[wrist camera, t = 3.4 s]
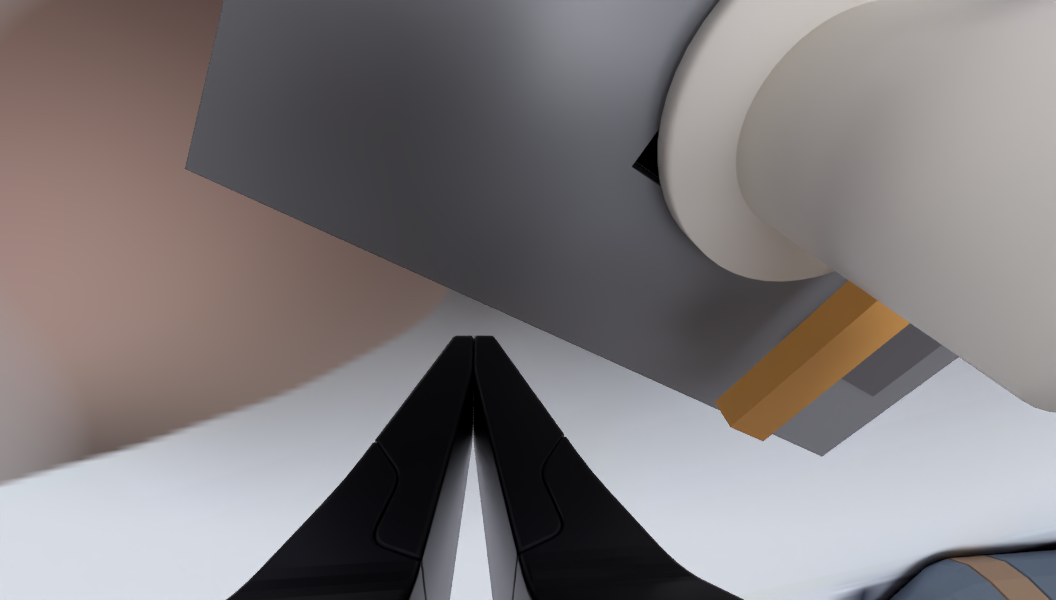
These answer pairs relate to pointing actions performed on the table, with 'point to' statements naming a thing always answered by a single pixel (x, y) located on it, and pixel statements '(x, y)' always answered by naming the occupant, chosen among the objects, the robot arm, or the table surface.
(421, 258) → the grey flat block
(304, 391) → the table surface
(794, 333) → the orange matchstick
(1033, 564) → the retro portable television
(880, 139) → the plug
